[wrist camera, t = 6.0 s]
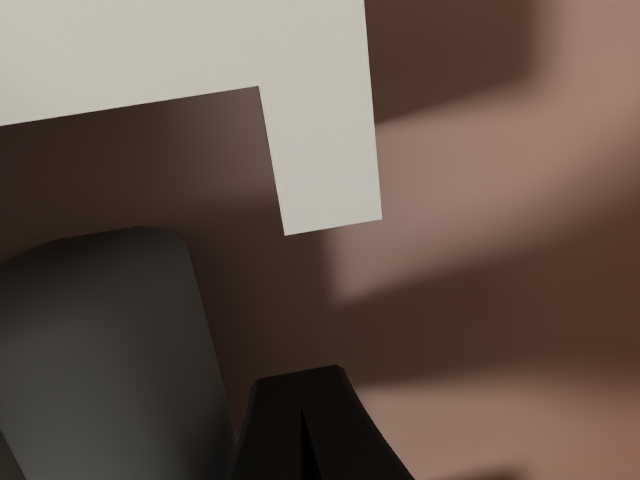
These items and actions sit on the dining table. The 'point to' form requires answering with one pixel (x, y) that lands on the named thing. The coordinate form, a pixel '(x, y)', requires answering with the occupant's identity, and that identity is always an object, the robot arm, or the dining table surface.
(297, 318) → the dining table surface
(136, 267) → the gray tin can
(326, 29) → the pale grey rectangular block
